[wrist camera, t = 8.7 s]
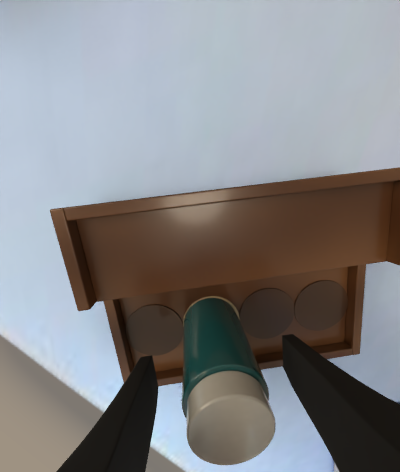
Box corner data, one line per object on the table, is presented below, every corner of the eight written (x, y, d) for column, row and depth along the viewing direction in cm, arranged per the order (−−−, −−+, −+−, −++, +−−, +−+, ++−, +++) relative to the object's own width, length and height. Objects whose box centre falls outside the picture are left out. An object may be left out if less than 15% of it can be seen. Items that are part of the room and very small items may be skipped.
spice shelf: (333, 329, 17) (395, 387, 12) (135, 359, 16) (112, 434, 11) (338, 175, 14) (422, 164, 9) (100, 204, 13) (48, 209, 8)
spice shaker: (239, 341, 14) (282, 460, 8) (187, 349, 14) (188, 478, 8) (235, 293, 13) (280, 384, 7) (180, 301, 13) (174, 401, 7)
